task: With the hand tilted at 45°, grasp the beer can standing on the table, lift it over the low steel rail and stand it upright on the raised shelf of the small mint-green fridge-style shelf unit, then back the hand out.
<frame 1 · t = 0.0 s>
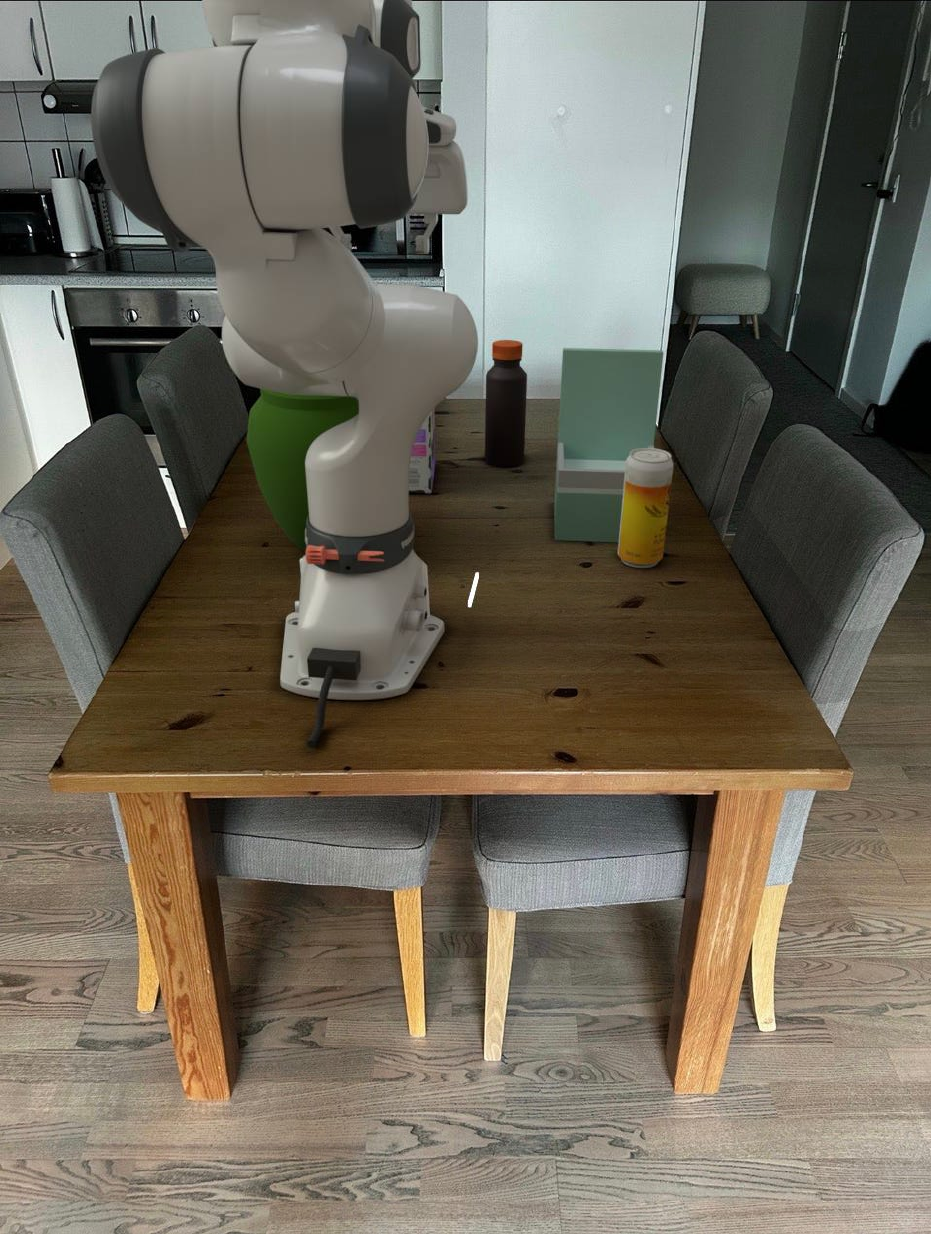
hand: (383, 252, 114), 39 cm above the table, tool pointing down, fingers open, 8 cm apart
shelf unit: (602, 523, 140), on the table
candy box: (416, 480, 156), on the table
beer can: (639, 561, 130), on the table
bottle: (504, 462, 164), on the table
vase: (329, 546, 133), on the table
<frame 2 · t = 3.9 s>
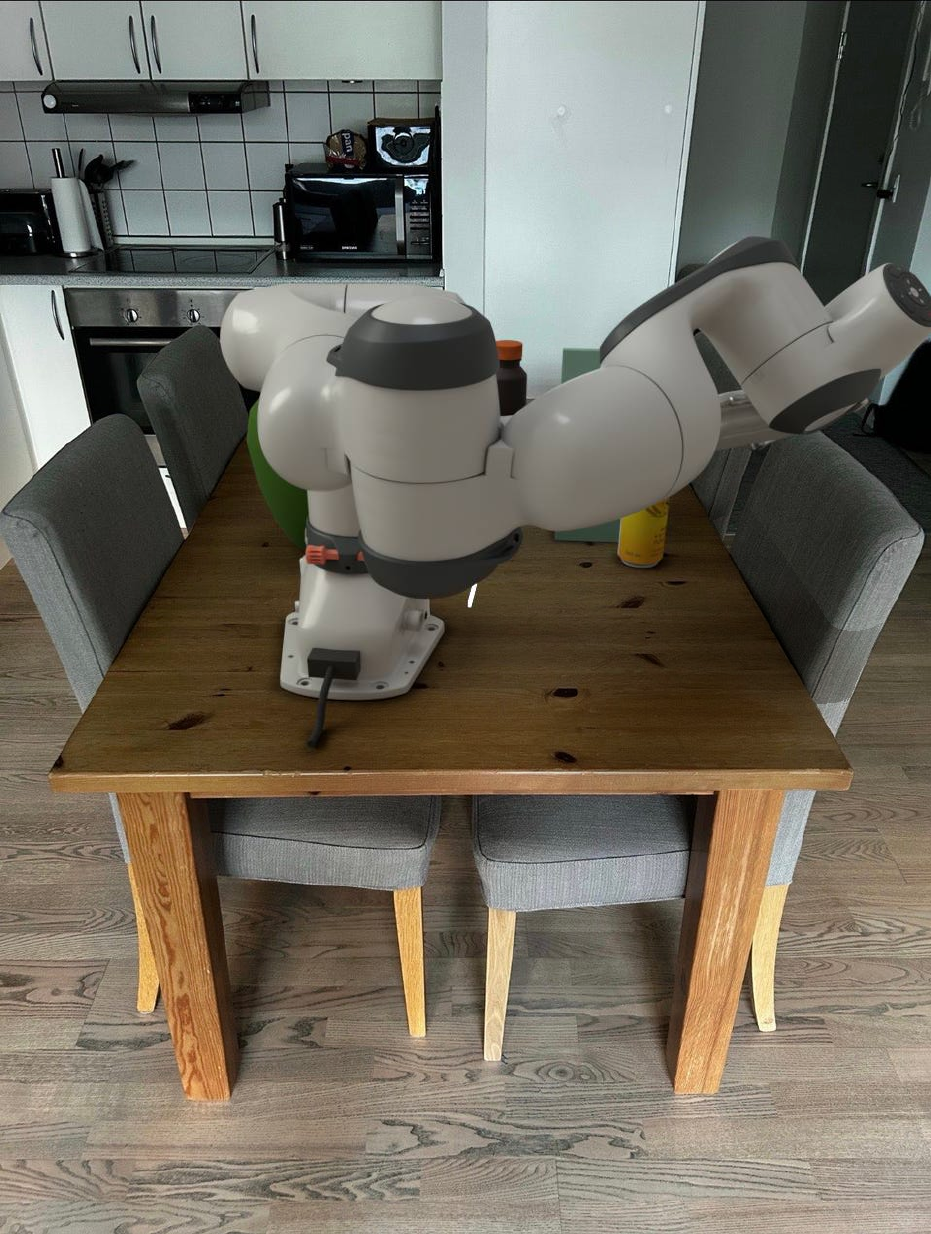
hand: (721, 451, 111), 19 cm above the table, tool tilted 45°, fingers open, 8 cm apart
nothing on the table moved.
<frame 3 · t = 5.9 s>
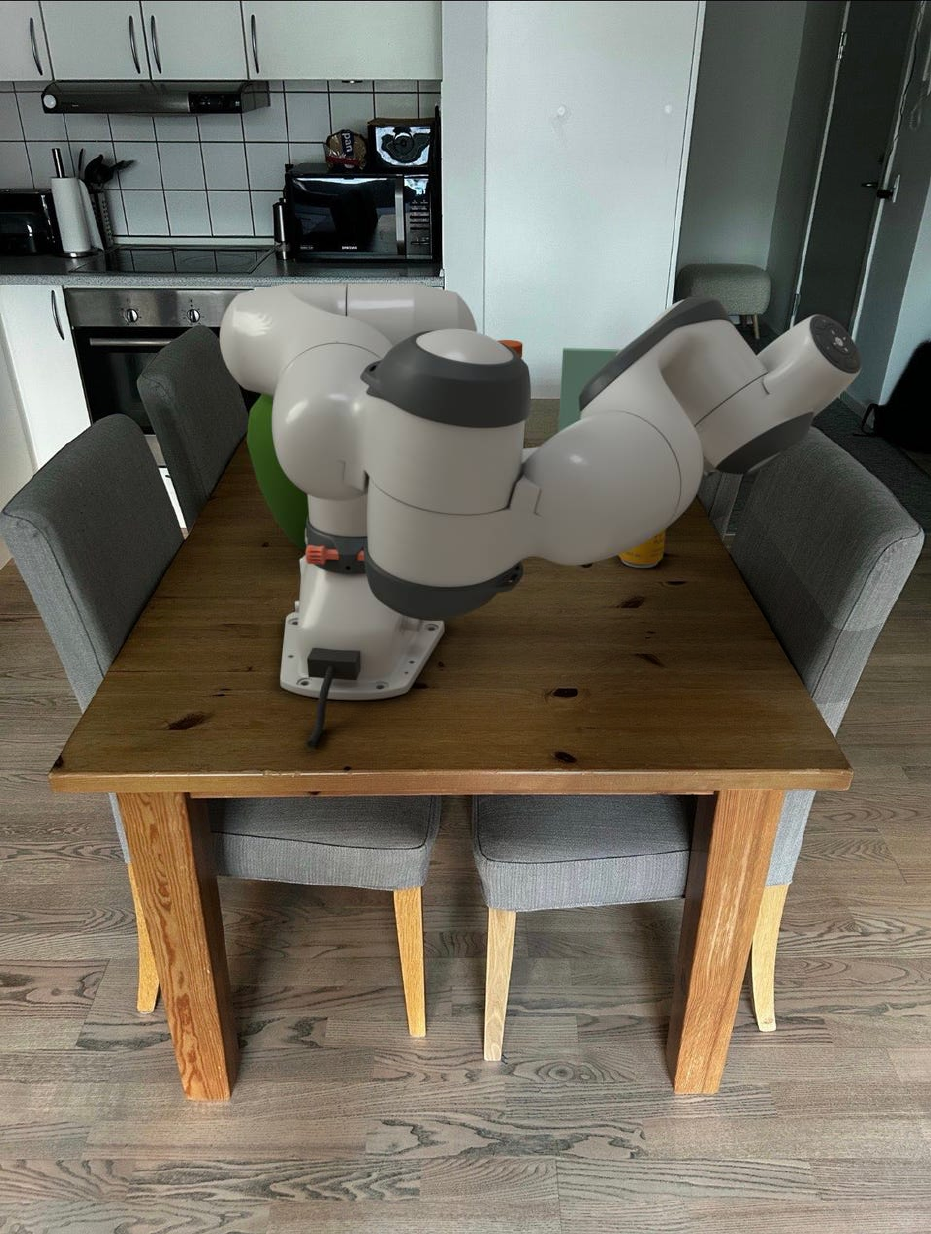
hand: (675, 477, 119), 14 cm above the table, tool tilted 45°, fingers open, 8 cm apart
nothing on the table moved.
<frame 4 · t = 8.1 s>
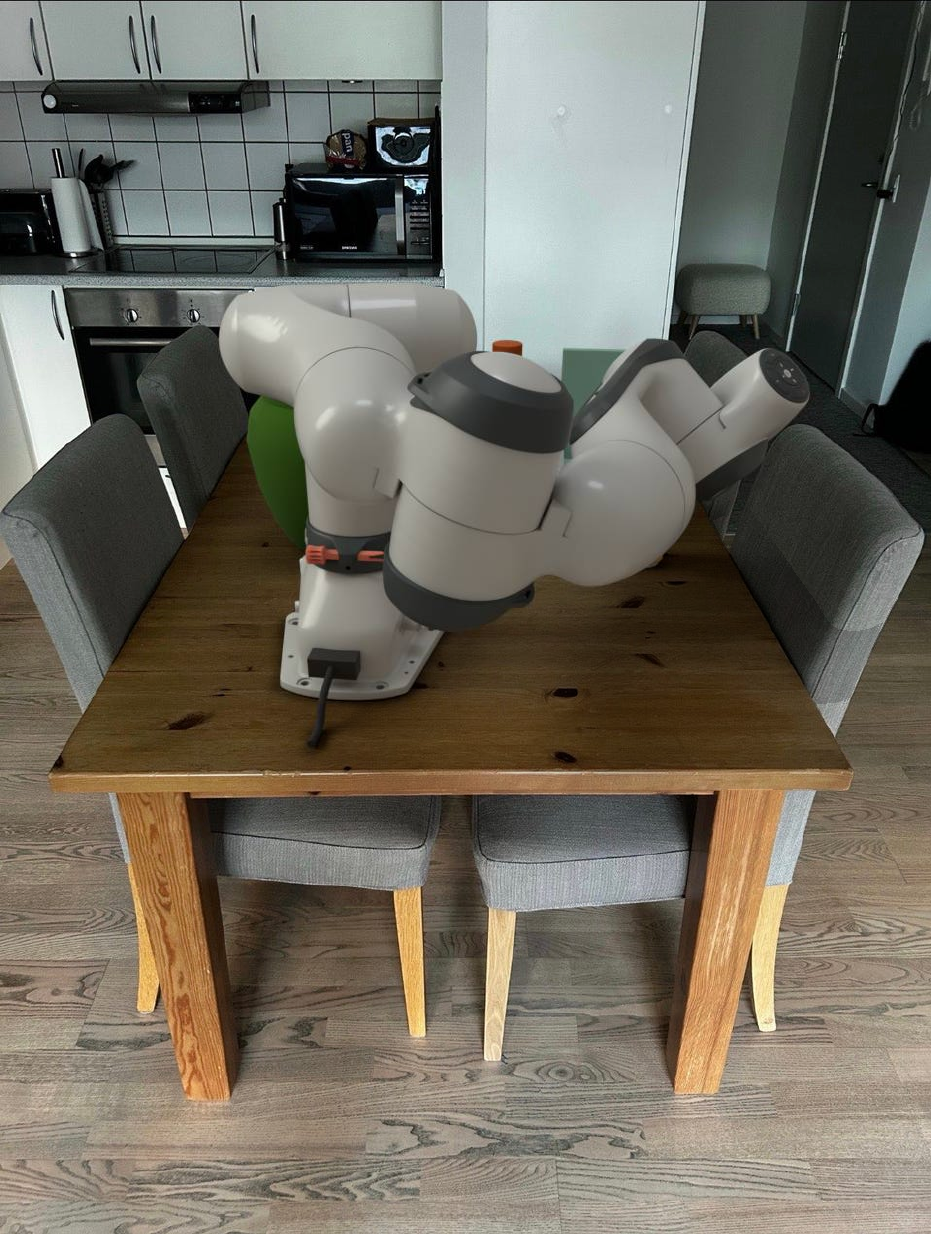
hand: (643, 495, 126), 9 cm above the table, tool tilted 45°, fingers closed on beer can, 6 cm apart
beer can: (639, 561, 130), on the table, touching gripper
everything else where it was.
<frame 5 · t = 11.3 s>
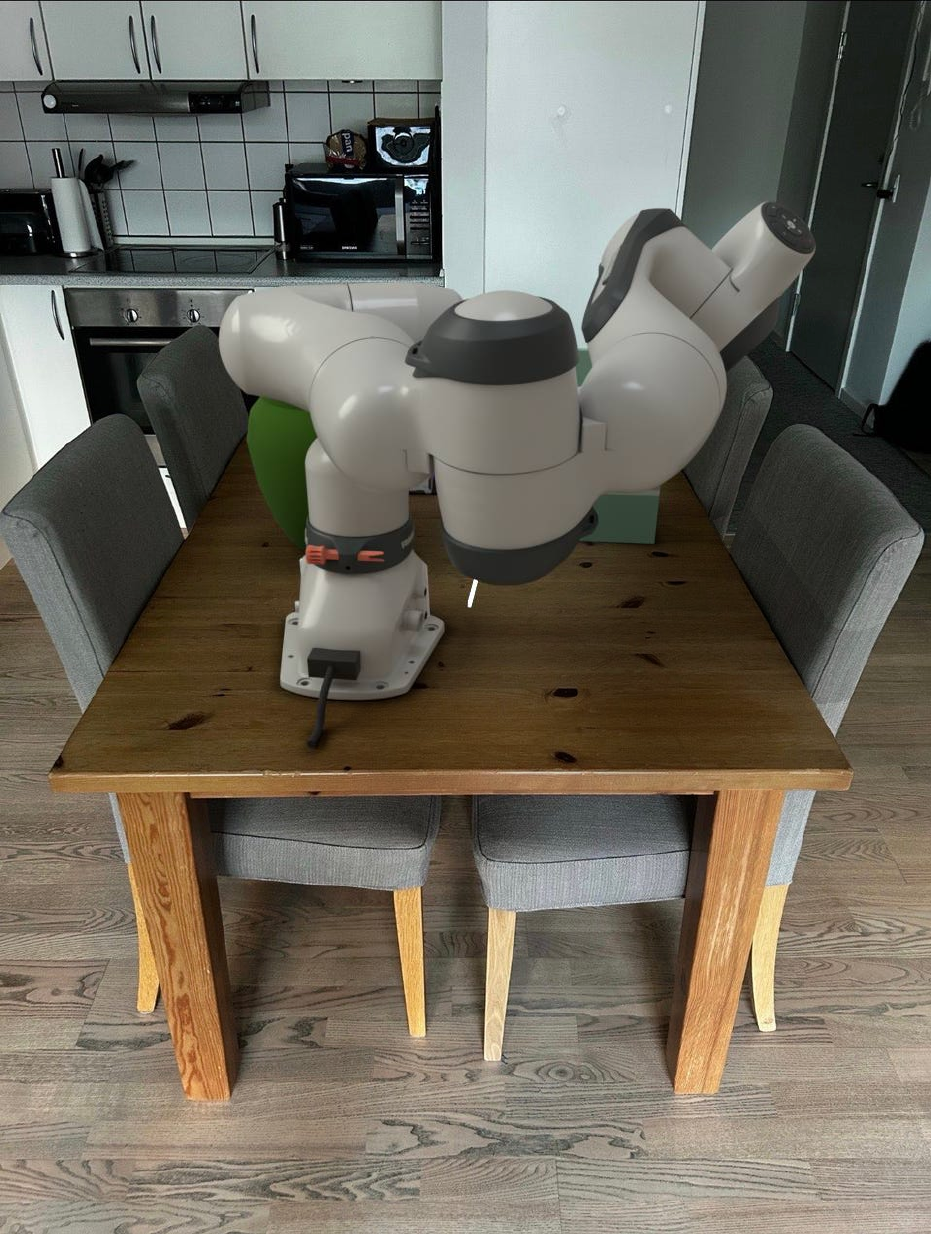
hand: (642, 382, 122), 23 cm above the table, tool tilted 45°, fingers closed on beer can, 6 cm apart
beer can: (637, 454, 126), point 14 cm above the table, touching gripper
everything else where it was.
when the fingers open (17 cm above the table, at t = 15.0 s): beer can stays where it is, resting on shelf unit.
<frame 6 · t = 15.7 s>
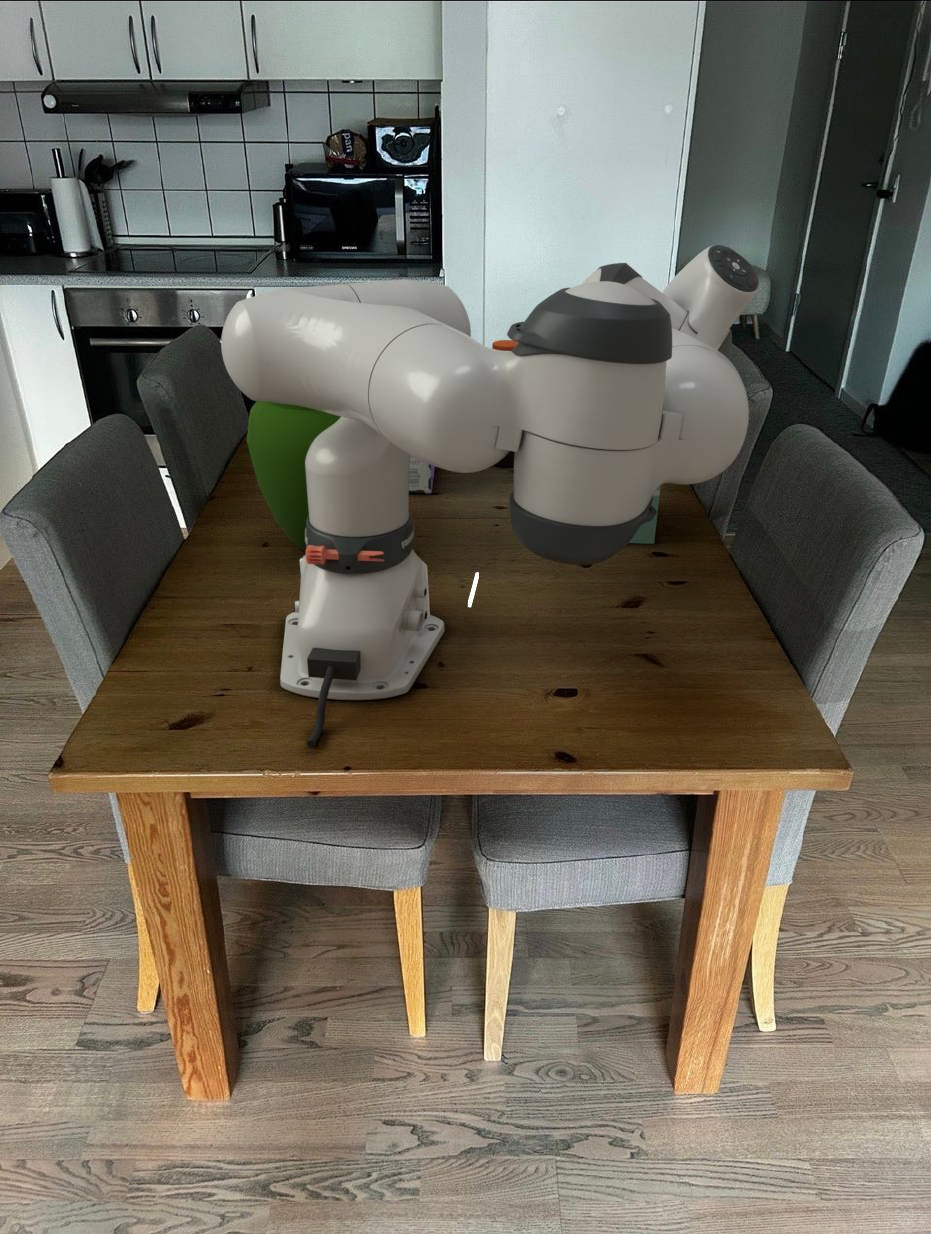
hand: (609, 403, 132), 18 cm above the table, tool tilted 45°, fingers open, 8 cm apart
beer can: (605, 474, 136), point 8 cm above the table, touching shelf unit
everything else where it was.
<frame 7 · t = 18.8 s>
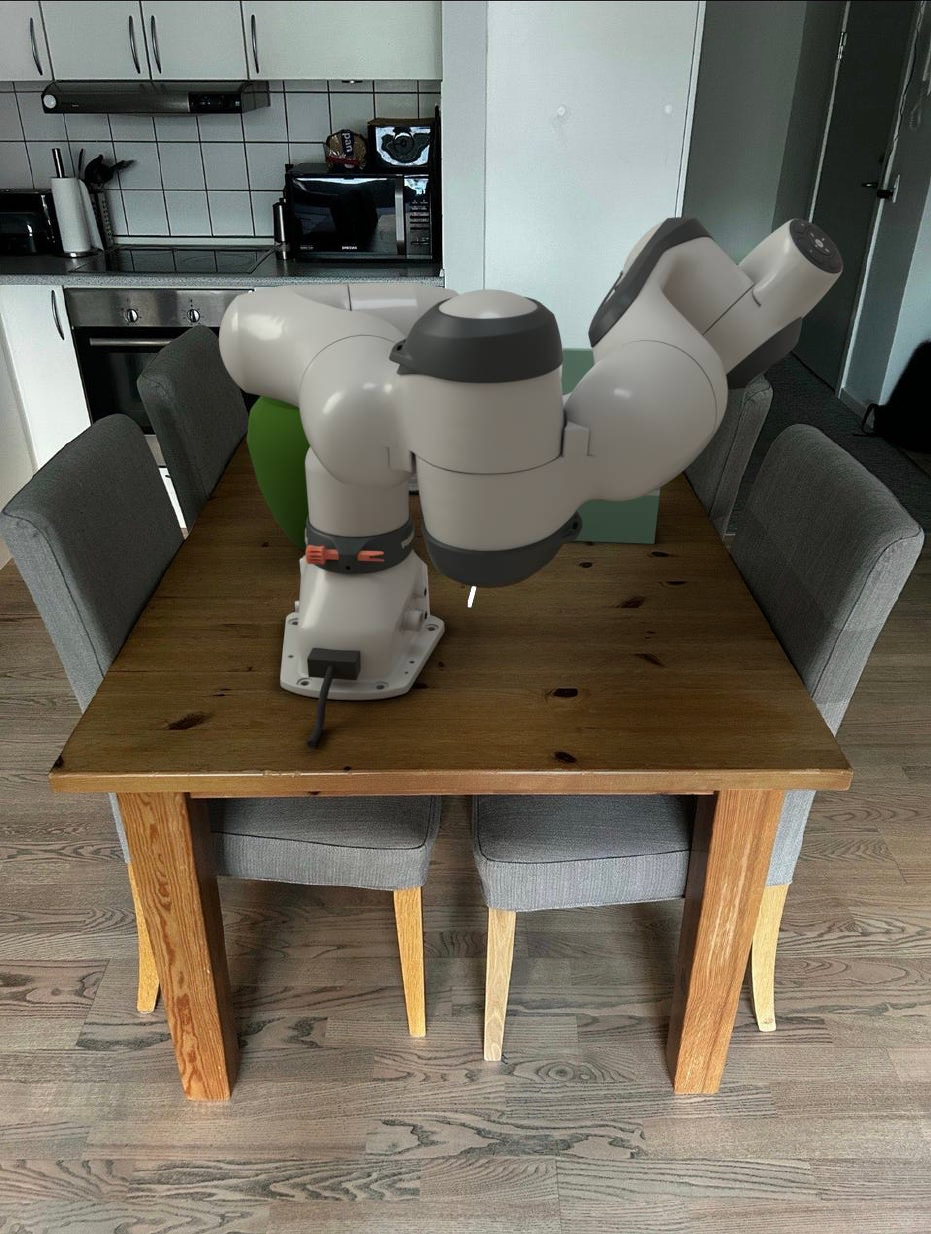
hand: (660, 399, 120), 22 cm above the table, tool tilted 45°, fingers open, 8 cm apart
nothing on the table moved.
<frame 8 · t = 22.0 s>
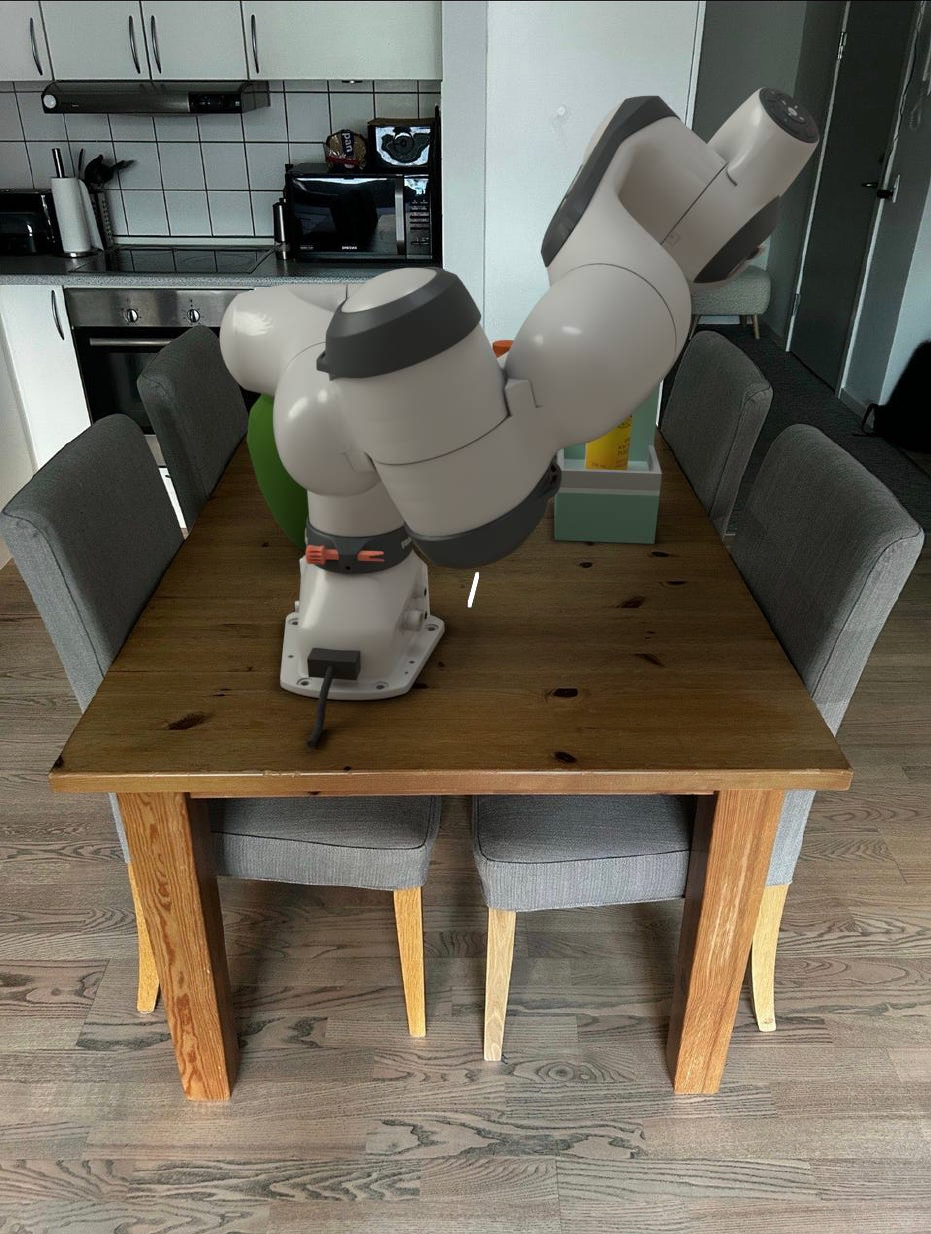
hand: (630, 308, 112), 33 cm above the table, tool tilted 45°, fingers open, 8 cm apart
nothing on the table moved.
at the end: beer can inside the target area on the shelf unit (0.1 cm from its centre), point 7.8 cm above the shelf unit's base; beer can tilted 0°; the gripper is holding nothing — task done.
